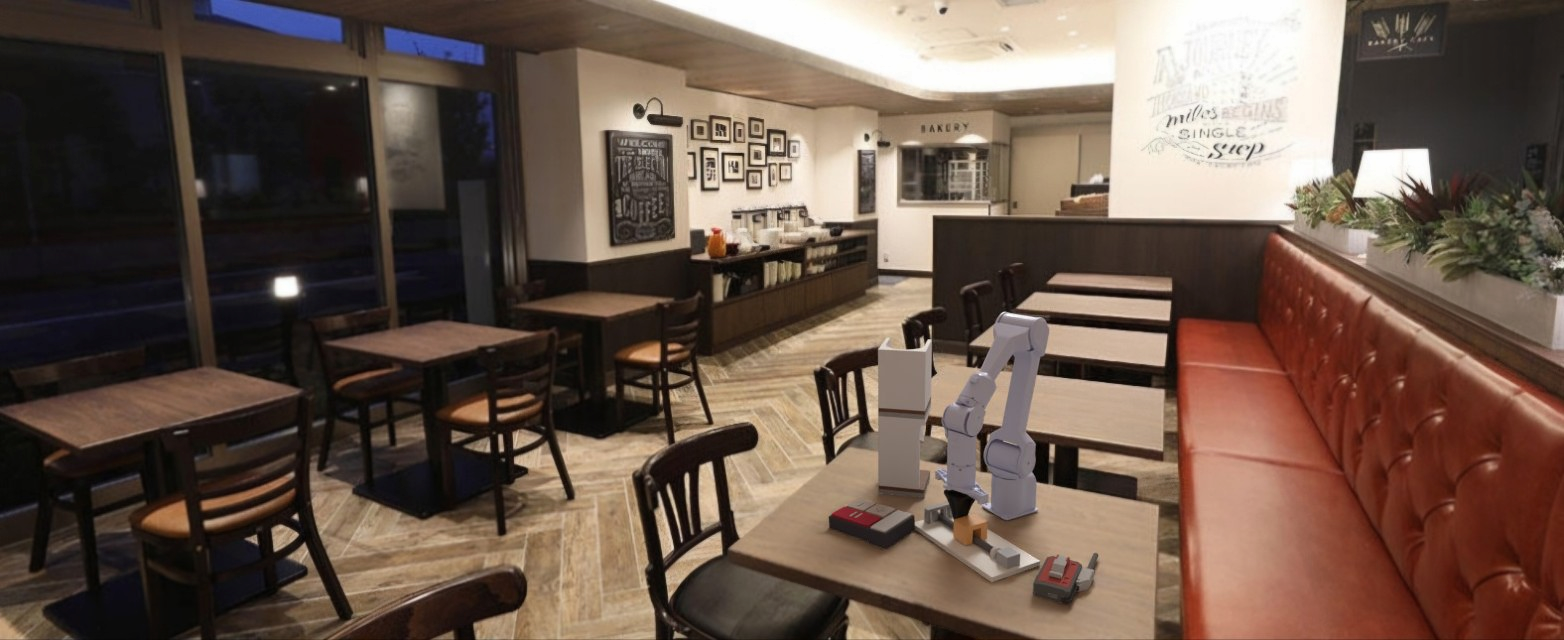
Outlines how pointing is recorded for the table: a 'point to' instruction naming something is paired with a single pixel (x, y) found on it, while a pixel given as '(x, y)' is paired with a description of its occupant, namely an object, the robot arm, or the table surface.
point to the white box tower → (903, 418)
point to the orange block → (969, 528)
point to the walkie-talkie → (1063, 578)
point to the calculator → (872, 523)
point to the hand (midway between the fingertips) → (960, 523)
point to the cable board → (974, 546)
